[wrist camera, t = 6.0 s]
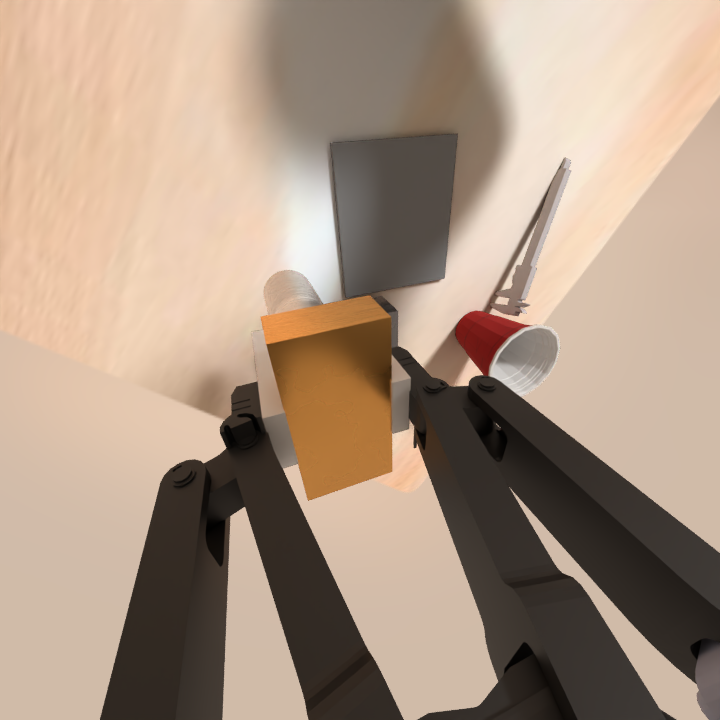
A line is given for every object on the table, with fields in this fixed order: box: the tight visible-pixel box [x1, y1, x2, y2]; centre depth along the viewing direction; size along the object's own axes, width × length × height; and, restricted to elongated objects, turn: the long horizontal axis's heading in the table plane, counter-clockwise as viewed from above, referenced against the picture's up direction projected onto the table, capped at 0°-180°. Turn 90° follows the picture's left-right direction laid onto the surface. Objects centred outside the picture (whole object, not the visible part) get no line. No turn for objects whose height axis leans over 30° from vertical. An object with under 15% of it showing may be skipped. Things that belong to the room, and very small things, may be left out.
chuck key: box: [261, 270, 392, 501], centre depth 17 cm, size 8×4×14 cm, turn 5°
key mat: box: [331, 134, 458, 298], centre depth 37 cm, size 16×14×1 cm
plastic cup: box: [455, 311, 560, 397], centre depth 45 cm, size 11×11×12 cm
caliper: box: [490, 157, 571, 316], centre depth 42 cm, size 20×1×6 cm, turn 163°
